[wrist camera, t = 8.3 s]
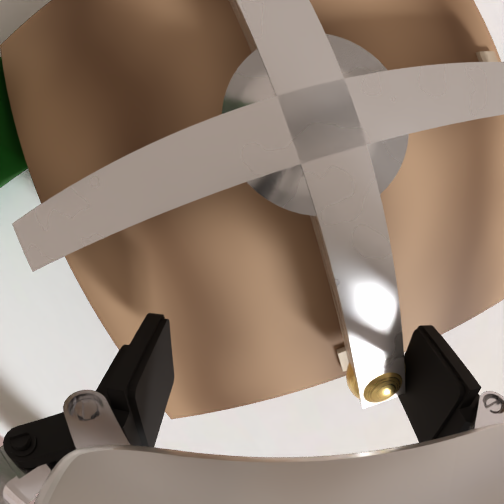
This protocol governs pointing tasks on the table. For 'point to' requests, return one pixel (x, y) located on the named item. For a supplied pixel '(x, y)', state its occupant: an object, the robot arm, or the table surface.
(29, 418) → the table surface
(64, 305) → the table surface
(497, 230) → the stand plate
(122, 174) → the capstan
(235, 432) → the table surface
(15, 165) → the milk carton
